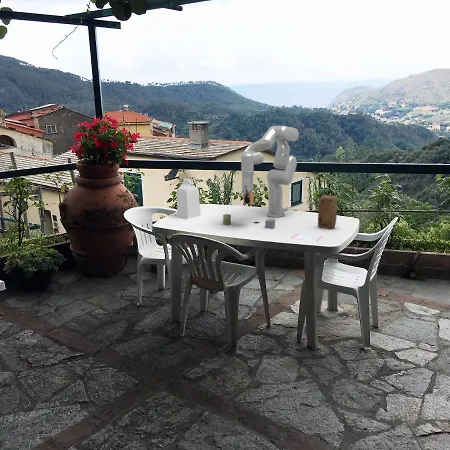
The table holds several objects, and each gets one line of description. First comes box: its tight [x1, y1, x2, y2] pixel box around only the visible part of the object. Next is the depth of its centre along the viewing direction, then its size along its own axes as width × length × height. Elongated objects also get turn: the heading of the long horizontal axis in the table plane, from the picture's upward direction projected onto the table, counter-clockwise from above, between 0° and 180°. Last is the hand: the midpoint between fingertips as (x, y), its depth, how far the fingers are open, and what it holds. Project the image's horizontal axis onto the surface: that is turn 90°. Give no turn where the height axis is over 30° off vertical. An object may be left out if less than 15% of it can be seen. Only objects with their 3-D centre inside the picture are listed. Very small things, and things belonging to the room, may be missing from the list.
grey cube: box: [264, 218, 276, 230], centre depth 283 cm, size 5×5×5 cm
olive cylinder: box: [222, 213, 232, 226], centre depth 293 cm, size 5×5×6 cm
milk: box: [176, 178, 202, 220], centre depth 313 cm, size 12×12×26 cm
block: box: [317, 194, 338, 230], centre depth 277 cm, size 11×8×20 cm
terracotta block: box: [242, 191, 254, 205], centre depth 284 cm, size 5×5×7 cm
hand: (248, 201), depth 284 cm, fingers closed on terracotta block, 5 cm apart
